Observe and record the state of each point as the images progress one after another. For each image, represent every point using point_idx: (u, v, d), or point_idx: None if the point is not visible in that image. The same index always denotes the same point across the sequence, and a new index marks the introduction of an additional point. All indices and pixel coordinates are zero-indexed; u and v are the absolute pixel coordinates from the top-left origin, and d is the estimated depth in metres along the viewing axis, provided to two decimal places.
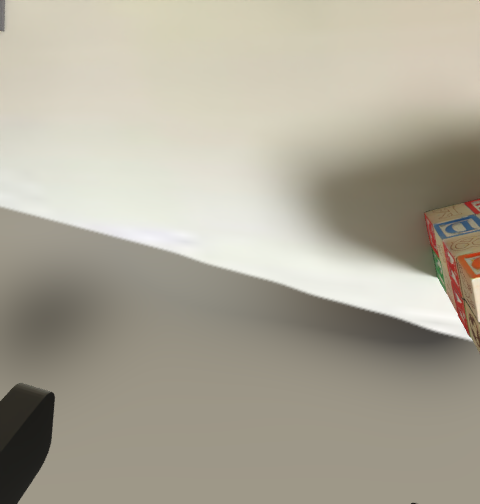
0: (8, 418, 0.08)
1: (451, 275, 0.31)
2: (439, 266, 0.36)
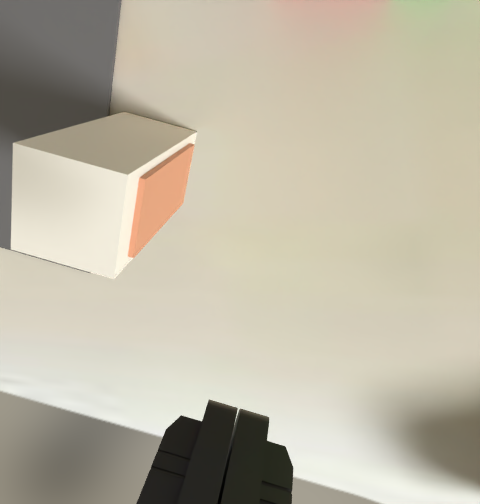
0: (217, 433, 0.09)
1: None
2: None
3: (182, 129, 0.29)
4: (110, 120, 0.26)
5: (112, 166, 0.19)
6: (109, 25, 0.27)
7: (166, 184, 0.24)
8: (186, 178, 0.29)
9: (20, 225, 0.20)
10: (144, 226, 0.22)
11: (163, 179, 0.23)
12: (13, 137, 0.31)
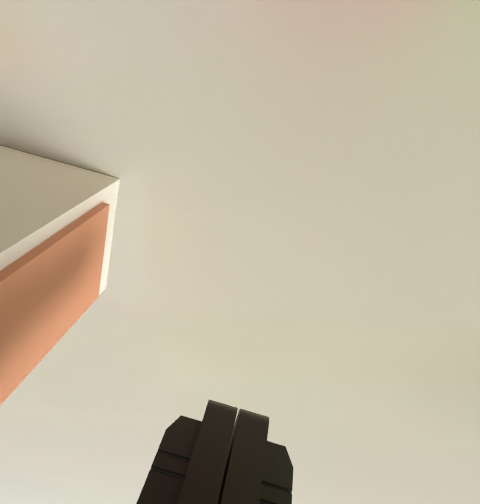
0: (217, 433, 0.09)
1: None
2: None
3: (92, 176, 0.17)
4: None
5: None
6: None
7: (25, 304, 0.12)
8: (98, 260, 0.17)
9: None
10: None
11: (7, 304, 0.11)
12: None
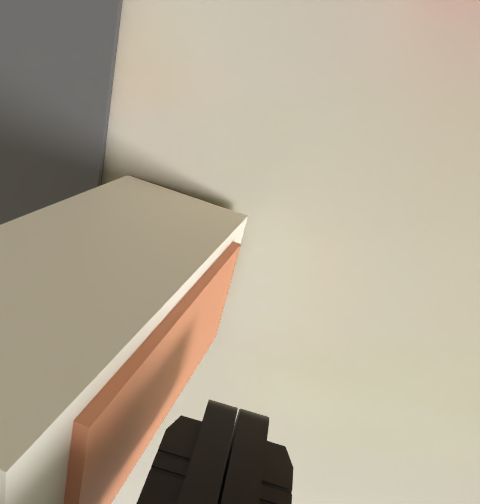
0: (217, 433, 0.09)
1: None
2: None
3: (222, 213, 0.16)
4: (87, 201, 0.14)
5: None
6: (102, 29, 0.15)
7: (172, 357, 0.11)
8: (223, 301, 0.16)
9: None
10: (103, 486, 0.09)
11: (161, 360, 0.10)
12: None
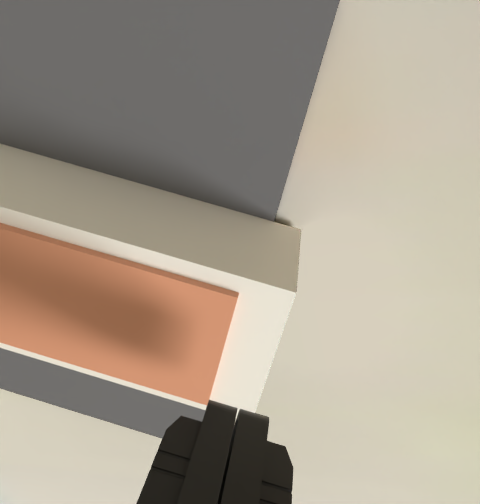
0: (217, 433, 0.09)
1: None
2: None
3: (277, 273, 0.13)
4: (208, 208, 0.16)
5: None
6: (300, 85, 0.15)
7: (56, 284, 0.13)
8: (208, 355, 0.13)
9: None
10: None
11: (30, 261, 0.13)
12: None
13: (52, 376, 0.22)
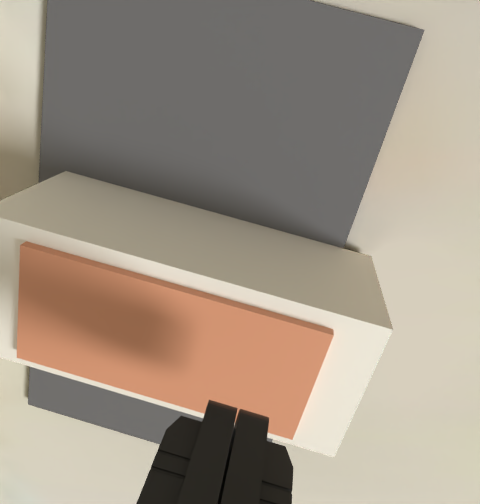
0: (217, 433, 0.09)
1: None
2: None
3: (368, 307, 0.13)
4: (279, 235, 0.16)
5: (12, 206, 0.13)
6: (378, 114, 0.15)
7: (145, 320, 0.13)
8: (297, 391, 0.13)
9: None
10: (48, 332, 0.14)
11: (120, 298, 0.13)
12: None
13: (106, 399, 0.21)
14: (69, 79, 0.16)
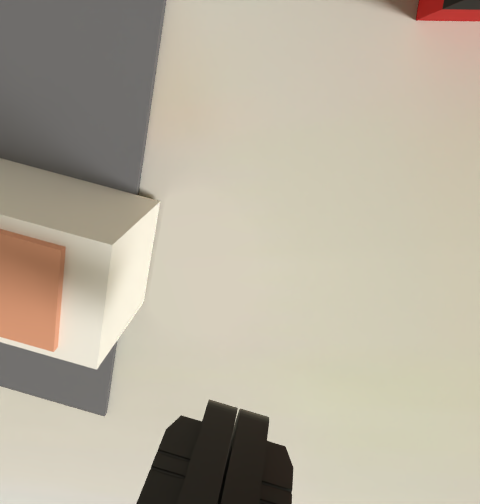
0: (217, 433, 0.09)
1: None
2: None
3: (105, 231, 0.15)
4: (73, 182, 0.18)
5: None
6: (142, 69, 0.17)
7: None
8: (46, 304, 0.15)
9: None
10: None
11: None
12: None
13: None
14: None
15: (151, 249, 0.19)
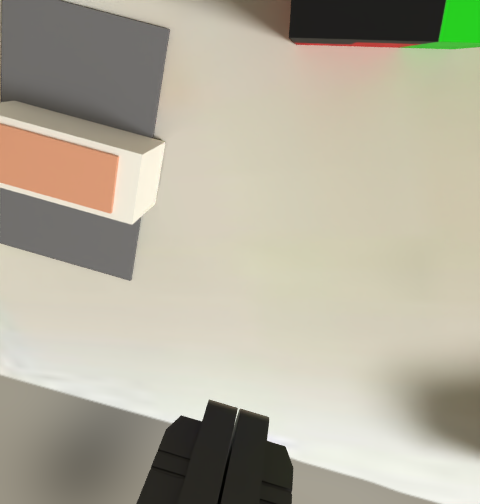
0: (217, 433, 0.09)
1: None
2: None
3: (138, 149, 0.30)
4: (117, 130, 0.33)
5: None
6: (156, 68, 0.31)
7: (41, 155, 0.30)
8: (108, 186, 0.30)
9: None
10: (0, 164, 0.30)
11: (29, 144, 0.29)
12: None
13: (42, 236, 0.38)
14: (13, 53, 0.33)
15: (160, 170, 0.34)
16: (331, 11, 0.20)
